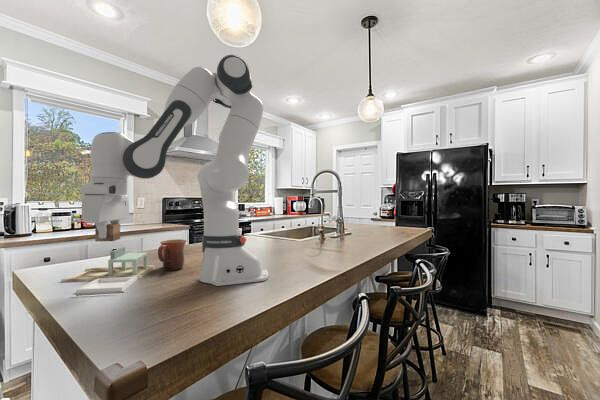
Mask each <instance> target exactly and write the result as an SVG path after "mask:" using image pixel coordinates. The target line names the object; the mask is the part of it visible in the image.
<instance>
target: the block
mask: <svg viewBox="0 0 600 400" xmlns="http://www.w3.org/2000/svg"><path fill="white" fill-rule="evenodd" d="M106 228H107V231H108V237H107V238H99V232H98V229H97V227H96V226H95V228H94V229H95V235H94V236H95V240H94V242H96V243H97V242H115V241H118V240H120V239H121V223H120V224H111V223H107V226H106Z"/></svg>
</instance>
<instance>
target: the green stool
mask: <svg viewBox="0 0 600 400" xmlns="http://www.w3.org/2000/svg"><path fill="white" fill-rule="evenodd" d="M148 257H149V256H148V252H130V253H127V252H126V247H123V246H122V247H119V248H117V249H114V250H111V251H110V259H108V260H107V261H108V262H107V264H108V265H107V267H108V276H113V267H114V263H121V267H122V270H126V266H127V263H132V266H133V275H137V266H138V262H139V260H142V259H143V266H144V269H148V266H149V265H148V260H149V259H148Z"/></svg>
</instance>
